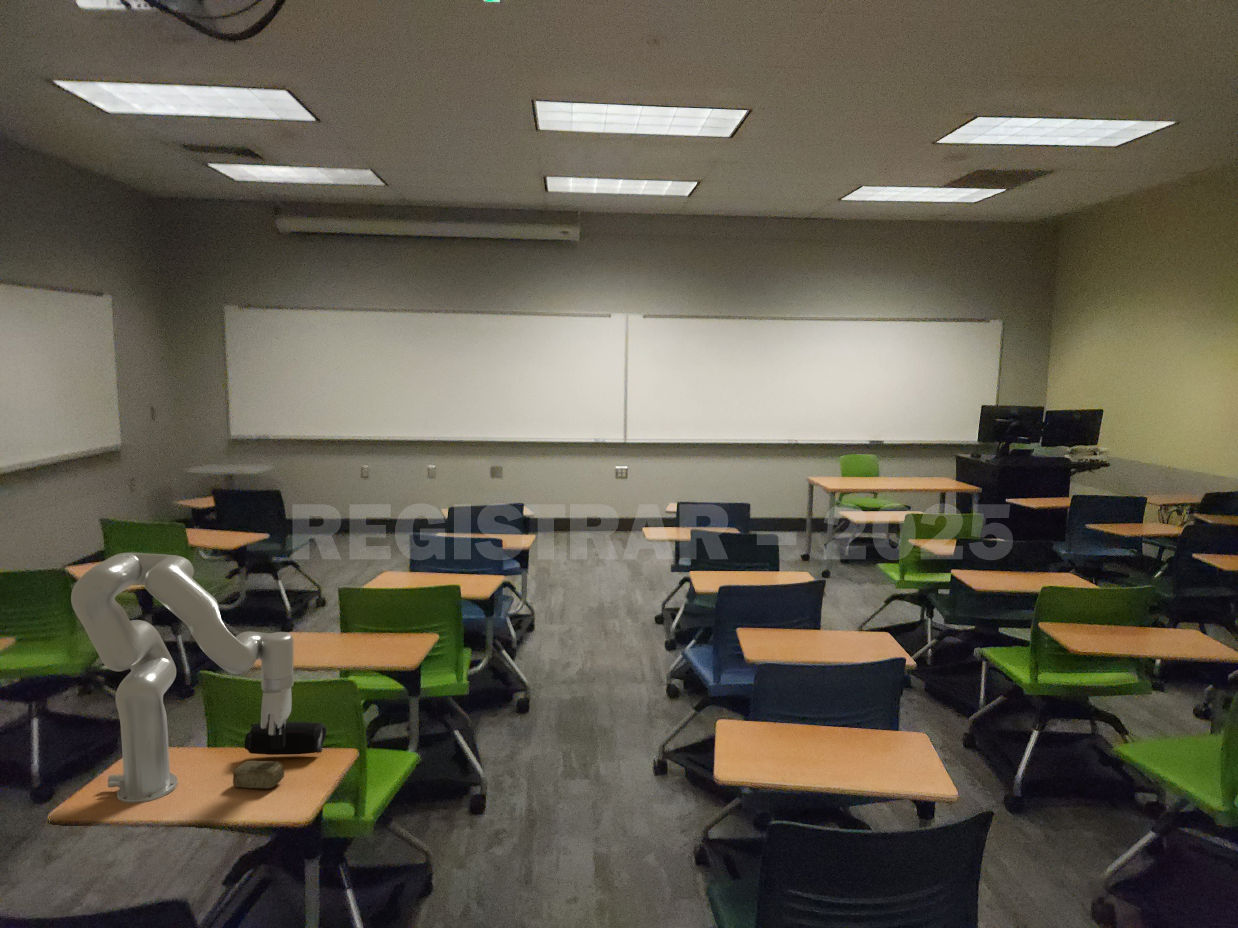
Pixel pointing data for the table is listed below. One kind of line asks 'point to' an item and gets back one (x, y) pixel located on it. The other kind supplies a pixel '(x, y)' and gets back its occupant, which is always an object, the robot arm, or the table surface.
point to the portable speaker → (287, 739)
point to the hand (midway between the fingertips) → (278, 747)
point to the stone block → (258, 774)
